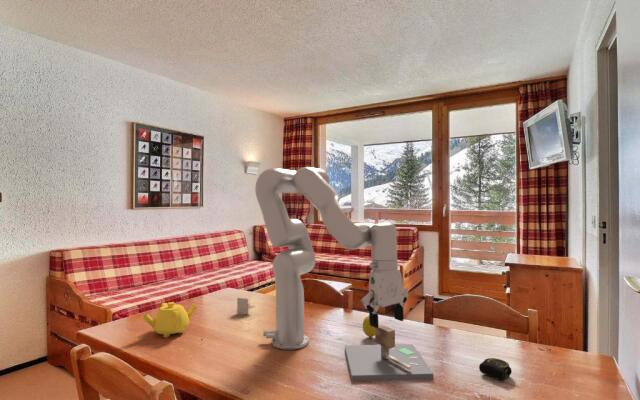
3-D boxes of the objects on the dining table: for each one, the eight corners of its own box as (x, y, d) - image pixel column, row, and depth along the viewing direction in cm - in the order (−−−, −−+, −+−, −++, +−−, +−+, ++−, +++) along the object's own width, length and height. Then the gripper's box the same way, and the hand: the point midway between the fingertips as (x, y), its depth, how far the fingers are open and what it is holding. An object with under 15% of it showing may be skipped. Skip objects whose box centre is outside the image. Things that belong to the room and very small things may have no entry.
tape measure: (477, 375, 99) (477, 361, 99) (491, 368, 103) (491, 355, 103) (502, 385, 93) (501, 371, 93) (515, 377, 97) (515, 363, 97)
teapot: (149, 347, 120) (149, 313, 120) (135, 333, 134) (135, 303, 134) (207, 332, 133) (206, 302, 133) (188, 320, 147) (188, 293, 147)
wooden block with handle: (375, 354, 108) (375, 325, 108) (381, 352, 109) (381, 324, 109) (406, 371, 97) (406, 339, 97) (413, 369, 98) (412, 337, 98)
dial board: (351, 381, 96) (351, 375, 96) (344, 350, 116) (344, 345, 116) (433, 379, 96) (433, 373, 96) (412, 348, 116) (412, 343, 116)
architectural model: (241, 312, 158) (241, 295, 158) (254, 314, 155) (254, 297, 155) (237, 314, 155) (236, 297, 155) (250, 316, 152) (250, 299, 152)
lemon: (378, 341, 123) (378, 318, 123) (362, 340, 124) (361, 317, 124) (378, 335, 128) (378, 313, 128) (363, 334, 129) (363, 312, 129)
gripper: (369, 270, 99) (372, 333, 98) (414, 263, 108) (417, 320, 107) (353, 267, 105) (355, 325, 105) (397, 260, 114) (399, 314, 114)
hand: (386, 323), depth 106 cm, fingers open, 9 cm apart
